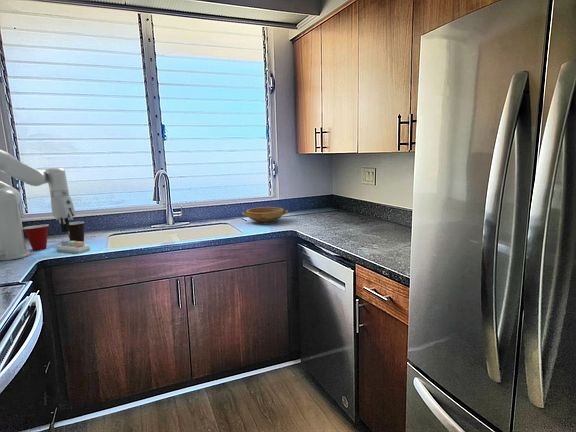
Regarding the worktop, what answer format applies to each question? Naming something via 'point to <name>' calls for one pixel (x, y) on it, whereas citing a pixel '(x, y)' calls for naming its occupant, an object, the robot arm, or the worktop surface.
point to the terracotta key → (79, 244)
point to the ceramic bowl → (265, 214)
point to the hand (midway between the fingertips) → (66, 231)
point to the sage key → (71, 243)
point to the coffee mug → (76, 231)
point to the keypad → (73, 248)
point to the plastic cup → (37, 236)
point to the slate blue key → (65, 242)
